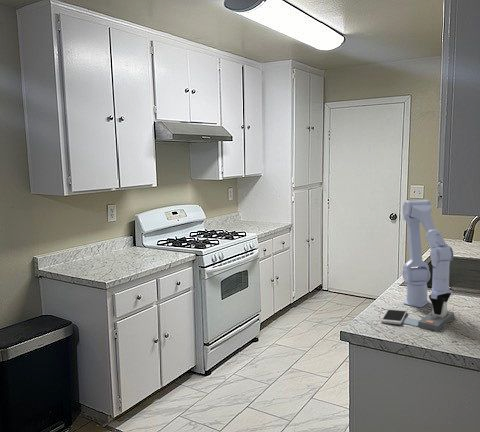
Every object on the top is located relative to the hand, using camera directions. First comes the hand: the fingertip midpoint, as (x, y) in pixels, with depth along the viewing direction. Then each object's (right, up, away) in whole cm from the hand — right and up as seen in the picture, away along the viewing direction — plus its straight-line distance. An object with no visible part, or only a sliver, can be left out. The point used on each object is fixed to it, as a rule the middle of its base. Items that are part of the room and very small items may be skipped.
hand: (439, 312), depth 170 cm
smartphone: (-16, -3, +3) cm, 16 cm away
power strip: (-2, -3, -2) cm, 4 cm away
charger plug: (0, -3, 0) cm, 3 cm away
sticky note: (-11, -3, -2) cm, 12 cm away
